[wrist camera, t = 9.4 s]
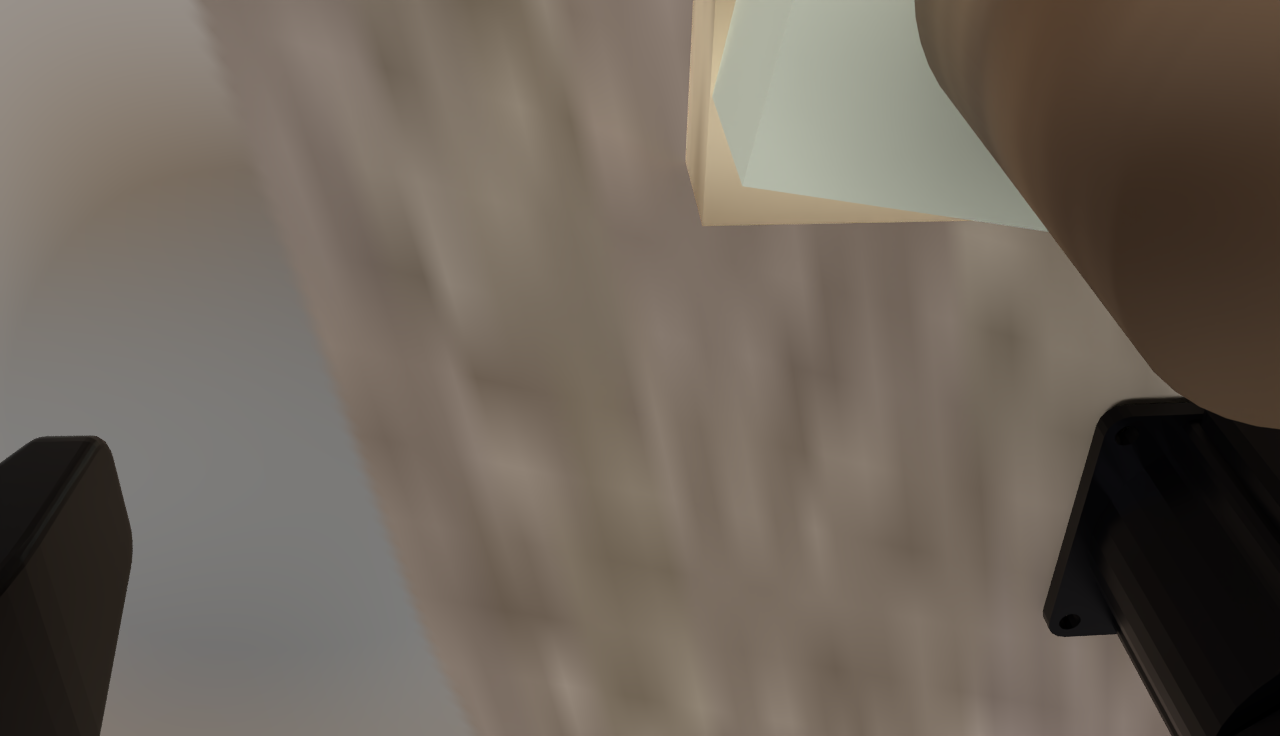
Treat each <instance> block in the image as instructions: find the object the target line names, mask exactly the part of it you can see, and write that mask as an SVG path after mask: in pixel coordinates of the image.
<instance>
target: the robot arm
mask: <svg viewBox="0 0 1280 736" xmlns="http://www.w3.org/2000/svg"><path fill="white" fill-rule="evenodd" d="M1128 426H1130V427H1129V429H1127V430H1126V431H1124V432H1122V433H1118V431H1120V430H1121V429H1122V428H1124V427H1128ZM1117 433H1118V434H1117ZM132 549H133V548H132V532H131V527H130V523H129V519H128V515H127V511H126V507H125V503H124V499H123V495H122V491H121V487H120V483H119V479H118V475H117V471H116V467H115V463H114V460H113V456H112V453H111V450H110V449H109V447H108V445H107V444H106V442H105V441H103V440H102V439H100V438H99V437H97V436H46V437H39V438H36V439H34V440H32V441H30V442H29V443H27V444H26V445H24V446H23V447H21V448H20V449H19V450H17V451H16V452H15V453H13V454H12V455H10V456H9V457H8V458H6V459H5V460H4V461H2V462H1V463H0V736H100V731H101V727H102V721H103V716H104V710H105V705H106V700H107V694H108V689H109V683H110V678H111V672H112V667H113V661H114V656H115V651H116V645H117V640H118V635H119V629H120V624H121V618H122V613H123V608H124V602H125V597H126V591H127V585H128V581H129V575H130V570H131V563H132V552H133V550H132ZM1066 615H1067V616H1066ZM1043 617H1044V619H1045V621H1046V623H1047V626H1048V628H1049V629H1050V631H1051V632H1052V633H1053V634H1055V635H1057V636H1062V637H1070V636H1089V635H1108V634H1117V635H1118V637H1119V638H1120V640H1121V642H1122V644H1123V646H1124V648H1125V650H1126V652H1127V653H1128V655H1129V657H1130V659H1131V661H1132V663H1133V665H1134V666H1135V668H1136V670H1137V672H1138V674H1139V676H1140V678H1141V680H1142V681H1143V683H1144V685H1145V687H1146V689H1147V691H1148V693H1149V694H1150V696H1151V698H1152V700H1153V702H1154V704H1155V706H1156V707H1157V709H1158V711H1159V713H1160V715H1161V717H1162V719H1163V721H1164V722H1165V724H1166V726H1167V728H1168V730H1169V732H1170V734H1171V735H1172V736H1280V429H1275V428H1267V427H1259V426H1254V425H1250V424H1246V423H1243V422H1239V421H1235V420H1231V419H1228V418H1225V417H1222V416H1220V415H1218V414H1215V413H1213V412H1211V411H1208V410H1206V409H1204V408H1202V407H1199V406H1198V405H1196V404H1194V403H1193V402H1189V403H1163V404H1137V405H1123V406H1117V407H1115V408H1113V409H1111V410H1109V411H1107V412H1106V413H1105V414H1104V415H1103V416H1102V417H1101V418H1100V419H1099V421H1098V423H1097V425H1096V429H1095V432H1094V436H1093V439H1092V443H1091V446H1090V450H1089V453H1088V457H1087V460H1086V463H1085V467H1084V470H1083V474H1082V477H1081V481H1080V484H1079V488H1078V491H1077V495H1076V498H1075V501H1074V505H1073V508H1072V512H1071V515H1070V519H1069V522H1068V526H1067V529H1066V533H1065V536H1064V540H1063V543H1062V546H1061V550H1060V553H1059V557H1058V560H1057V564H1056V567H1055V571H1054V574H1053V578H1052V581H1051V585H1050V588H1049V591H1048V595H1047V598H1046V602H1045V605H1044V609H1043Z"/></svg>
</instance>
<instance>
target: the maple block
mask: <svg viewBox="0 0 1280 736" xmlns="http://www.w3.org/2000/svg"><path fill="white" fill-rule="evenodd" d="M735 2H736V0H693V15H692V36H691V57H690V78H689V99H688V120H687V141H686V165H687V168H688V172H689V176H690V180H691V184H692V188H693V191H694V195H695V199H696V203H697V207H698V211H699V214H700V218H701V222H702V226H726V225H777V224H828V223H878V222H929V221H973V220H966V219H959V218H952V217H946V216H939V215H932V214H926V213H919V212H912V211H905V210H899V209H892V208H885V207H878V206H872V205H865V204H858V203H852V202H845V201H838V200H831V199H825V198H818V197H811V196H805V195H798V194H791V193H784V192H778V191H771V190H764V189H758V188H751V187H744V186H742V184H741V181H740V178H739V175H738V172H737V169H736V166H735V163H734V160H733V157H732V154H731V151H730V148H729V145H728V142H727V139H726V136H725V133H724V130H723V127H722V124H721V121H720V118H719V115H718V112H717V109H716V107H715V104H714V101H713V98H712V95H713V91H714V87H715V83H716V79H717V74H718V70H719V66H720V62H721V58H722V54H723V50H724V46H725V42H726V38H727V34H728V30H729V26H730V22H731V18H732V14H733V10H734V6H735Z"/></svg>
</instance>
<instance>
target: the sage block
mask: <svg viewBox="0 0 1280 736" xmlns="http://www.w3.org/2000/svg"><path fill="white" fill-rule="evenodd" d="M712 98H713V101H714V104H715V107H716V109H717V112H718V115H719V118H720V121H721V124H722V127H723V130H724V133H725V136H726V139H727V142H728V145H729V148H730V151H731V154H732V157H733V160H734V163H735V166H736V169H737V172H738V175H739V178H740V181H741V184H742V186H744V187H751V188H758V189H764V190H771V191H778V192H784V193H791V194H798V195H805V196H811V197H818V198H825V199H831V200H838V201H845V202H852V203H858V204H865V205H872V206H878V207H885V208H892V209H899V210H905V211H912V212H919V213H926V214H932V215H939V216H946V217H952V218H959V219H966V220H973V221H979V222H986V223H993V224H999V225H1006V226H1013V227H1020V228H1026V229H1033V230H1040V231H1047V232H1049V231H1048V230H1047V229H1046V227H1045V226H1044V225H1043V223H1042V222H1041V221H1040V219H1039V218H1038V217H1037V215H1036V214H1035V213H1034V211H1033V210H1032V209H1031V207H1030V206H1029V205H1028V203H1027V202H1026V201H1025V199H1024V198H1023V197H1022V195H1021V194H1020V193H1019V191H1018V190H1017V189H1016V187H1015V186H1014V185H1013V183H1012V182H1011V181H1010V179H1009V178H1008V177H1007V175H1006V174H1005V172H1004V171H1003V170H1002V168H1001V167H1000V166H999V164H998V163H997V162H996V160H995V159H994V158H993V156H992V155H991V154H990V152H989V151H988V150H987V148H986V147H985V146H984V144H983V143H982V142H981V140H980V139H979V138H978V136H977V135H976V134H975V132H974V131H973V130H972V128H971V127H970V126H969V124H968V123H967V122H966V120H965V119H964V118H963V116H962V115H961V114H960V112H959V111H958V110H957V108H956V107H955V106H954V104H953V103H952V102H951V100H950V99H949V98H948V96H947V95H946V94H945V92H944V91H943V90H942V88H941V87H940V86H939V84H938V82H937V80H936V78H935V76H934V74H933V73H932V71H931V69H930V67H929V65H928V62H927V59H926V57H925V54H924V51H923V48H922V45H921V43H920V38H919V33H918V28H917V23H916V17H915V0H736V2H735V6H734V10H733V14H732V18H731V22H730V26H729V30H728V34H727V38H726V42H725V46H724V50H723V54H722V58H721V62H720V66H719V70H718V74H717V79H716V83H715V87H714V91H713V95H712Z"/></svg>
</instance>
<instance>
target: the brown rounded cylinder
mask: <svg viewBox="0 0 1280 736" xmlns="http://www.w3.org/2000/svg"><path fill="white" fill-rule="evenodd" d="M915 17H916V23H917V28H918V33H919V38H920V43H921V45H922V48H923V51H924V54H925V57H926V59H927V62H928V65H929V67H930V69H931V71H932V73H933V74H934V76H935V78H936V80H937V82H938V84H939V86H940V87H941V88H942V90H943V91H944V92H945V94H946V95H947V96H948V98H949V99H950V100H951V102H952V103H953V104H954V106H955V107H956V108H957V110H958V111H959V112H960V114H961V115H962V116H963V118H964V119H965V120H966V122H967V123H968V124H969V126H970V127H971V128H972V130H973V131H974V132H975V134H976V135H977V136H978V138H979V139H980V140H981V142H982V143H983V144H984V146H985V147H986V148H987V150H988V151H989V152H990V154H991V155H992V156H993V158H994V159H995V160H996V162H997V163H998V164H999V166H1000V167H1001V168H1002V170H1003V171H1004V172H1005V174H1006V175H1007V177H1008V178H1009V179H1010V181H1011V182H1012V183H1013V185H1014V186H1015V187H1016V189H1017V190H1018V191H1019V193H1020V194H1021V195H1022V197H1023V198H1024V199H1025V201H1026V202H1027V203H1028V205H1029V206H1030V207H1031V209H1032V210H1033V211H1034V213H1035V214H1036V215H1037V217H1038V218H1039V219H1040V221H1041V222H1042V223H1043V225H1044V226H1045V227H1046V229H1047V230H1048V231H1049V233H1050V234H1051V235H1052V237H1053V238H1054V239H1055V241H1056V242H1057V243H1058V245H1059V246H1060V247H1061V249H1062V250H1063V251H1064V253H1065V254H1066V255H1067V257H1068V258H1069V259H1070V261H1071V262H1072V263H1073V265H1074V266H1075V267H1076V269H1077V270H1078V271H1079V273H1080V274H1081V275H1082V277H1083V278H1084V279H1085V281H1086V282H1087V283H1088V285H1089V286H1090V287H1091V289H1092V290H1093V291H1094V293H1095V294H1096V296H1097V297H1098V298H1099V300H1100V301H1101V302H1102V304H1103V305H1104V306H1105V308H1106V309H1107V310H1108V312H1109V313H1110V314H1111V316H1112V317H1113V318H1114V320H1115V321H1116V322H1117V324H1118V325H1119V326H1120V328H1121V329H1122V330H1123V332H1124V333H1125V334H1126V336H1127V337H1128V338H1129V340H1130V341H1131V342H1132V344H1133V345H1134V346H1135V348H1136V349H1137V350H1138V352H1139V353H1140V354H1141V356H1142V357H1143V358H1144V360H1145V361H1146V362H1147V363H1148V365H1149V366H1150V367H1151V369H1152V370H1153V371H1154V372H1155V373H1156V374H1157V375H1158V376H1159V377H1160V378H1161V379H1162V380H1163V381H1164V382H1165V383H1167V384H1168V385H1169V386H1170V387H1171V388H1172V389H1173V390H1174V391H1176V392H1177V393H1179V394H1180V395H1182V396H1183V397H1185V398H1187V399H1188V400H1190V401H1191V402H1193V403H1194V404H1196V405H1198V406H1199V407H1202V408H1204V409H1206V410H1208V411H1211V412H1213V413H1215V414H1218V415H1220V416H1222V417H1225V418H1228V419H1231V420H1235V421H1239V422H1243V423H1246V424H1250V425H1254V426H1259V427H1267V428H1275V429H1280V0H915Z"/></svg>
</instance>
